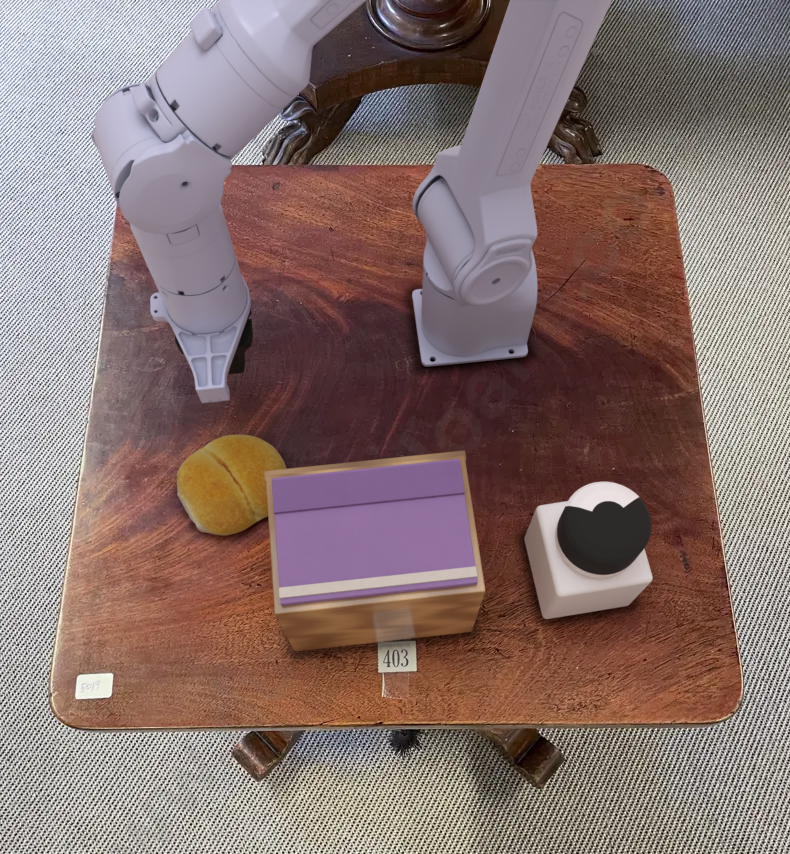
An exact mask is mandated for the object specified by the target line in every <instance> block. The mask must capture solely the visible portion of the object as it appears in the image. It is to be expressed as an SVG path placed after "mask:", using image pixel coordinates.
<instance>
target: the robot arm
mask: <svg viewBox="0 0 790 854" xmlns="http://www.w3.org/2000/svg"><path fill="white" fill-rule="evenodd" d="M366 1H367V0H218V1H217V2H216V3H215V5H214V6H213V7H212V8H211V9H209V8H208V7H205V6H204V7H203V8H202V9H200V11H199V12H198V13H197V14H196V15H195V16H194V18H192V20H191V21H190V22H189V28H190V30H191V31H190V32H189V33H188V35H187V36H186V37H185V38H184V39H183V40H182V41H181V42H180V43H179V44H178V45H177V46H176V48H175V49H174V50H173V51H172V52H171V53H170V54H169V56H168V57H167V58H166V59H165V60H164V61H163V62H162V63H161V64H160V66H158V67H157V69H156V70H155V71H154V72H153V73H152V74H151V76H150V77H148V79H147V80H146V81H145V82H144V81H143V82H137V83H136V82H135V83H130V84H127V85H124V86H122V87H119V88H117V89H116V90H114V91H113V92H111V94H110V95H109V96H107V98H106V99H105V100H104V101H103V103H102V105H101V106H100V107H99V108H98V111H97V113H96V114H95V117H94V120H93V124H94V126H95V127H92V132H91V134H90V138H91V140H92V142H93V144H94V146H95V147H96V149H97V150H98V151H97V152H99V153H98V154H99V157H100V160H101V162H102V165H103V168H104V171H105V173H106V176H107V179H108V182H109V184H110V187H111V190H112V194H113V197H114V200H115V202H116V205H117V206H118V208H119V209H120V212H121V214H122V216H123V218H124V219H125V220H126V221H127V222H128V223H129V227H130V230H131V232H132V235H133V237H134V238H135V241H136V244H137V246H138V249H139V250H140V252H141V255H142V258H143V259H144V262H145V264H146V266H147V268H148V271H149V274H150V275H151V277H152V279H153V281H154V284H155V286H156V289H157V290H158V292H154V293H152V294H151V296H150V299H149V311H150V315H151V317H152V319H153V320H154V321H155V322H159V323H160V322H161V323H162V322H167V323H168V324H169V325H170V328H171V329H172V331H173V333H174V343H175V345H176V346H177V347H176V348H177V349H178V350H179V352H180V354H181V355H184V357H185V359H186V360H187V363H188V365H189V367H190V369H191V372H192V376H193V379H194V387H195V392H196V394H197V396H198V398H199V400H200V402H201V404H207V403H219V402H220V403H221V402H228V401H230V399H231V396H230V388H229V385H228V375H235V374H243V373H244V371H245V367H246V358H245V356H246V355H245V354H246V351H248V350H249V349H250V348H251V347H252V344H253V340H254V339H253V338H254V333H253V332H254V330H253V329H254V327H253V319H252V318H250V317H251V315H252V313H253V312H252V298H251V292H250V290H249V287H248V285H247V282H246V281H245V278H244V276H243V274H242V272H241V268H240V265H239V261H238V257H237V255H236V251H235V247H234V244H233V241H232V237H231V233H230V230H229V226H228V223H227V219H226V216H225V211H224V209H223V205H222V202H221V201H222V199H223V196H224V183H225V180H226V178H228V176H229V175H230V174H231V173H232V169H231V168H232V167H233V163H232V160H233V159H234V158H235V157H236V156H237V155H238V154H239V153H240V152H241V151H242V150H243V149H244V148H245V147H246V146H247V145H249V144H250V143H251V142H252V141H253V139H255V137H257V136H258V135H259V134H260V132H262V131H263V130H264V129H265V128H266V126H268V125H269V124H270V123H271V122H272V121H273V120H274V119H275V118H276V117H277V116H278V115H279V114H280V113H281V112H282V111H283V110H284V109H285V108H286V107H288V105H289V104H291V102H292V101H293V100H294V99H295V98H297V96H298V95H299V94H300V93H301V92H302V91H304V89H305V88H307V86H308V85H309V82H310V79H311V67H312V57H313V49H314V46H315V45H316V44H317V43H319V41H321V40H322V39H323V38H324V37H325V36H326V35H328V34H329V33H330V32H332V31H333V30H334V29H335V28H336V27H337V26H338V25H339V24H341V23H342V22H343V21H344V20H346V19H347V18H348V17H349V16H350V15H351V14H353V12H354V11H356V10H357V9H358V8H359V7H361V6H362V5H363V4H364V3H365V2H366ZM612 1H613V0H509V2H508V5H507V8H506V11H505V14H504V16H503V20H502V22H501V26H500V29H499V32H498V35H497V38H496V41H495V44H494V46H493V50H492V53H491V55H490V59H489V62H488V64H487V68H486V70H485V74H484V76H483V80H482V83H481V86H480V89H479V92H478V94H477V97H476V100H475V102H474V107H473V109H472V113H471V115H470V118H469V121H468V123H467V124H468V125H467V128H466V130H465V133H464V136H463V139H462V142H461V144H457V145H454V146H452V147H448V148H445V149H443V150H441V151H439V152H438V153H437V154H436V158H435V161H434V164H433V166H432V168H431V169H430V171H429V173H428V174H427V176H426V177H425V178H424V180H423V181H422V182H421V183H420V184H419V185H418V187H417V189H416V190H415V193H414V195H413V197H412V204H411V207H412V212H413V215H414V216H415V218H416V219H417V220H418V222H419V223H421V225H422V227H423V230H424V231H425V240H426V243H425V247H424V251H423V260H422V263H423V264H422V285H421V288H417V289H414V290H413V291H412V292H411V293H412V294H411V299H412V306H413V312H414V321H415V327H416V333H417V341H418V347H419V348H418V349H419V354H420V355H419V356H420V363H421V365H422V366H423V367H425V368H429V367H438V366H449V365H458V364H468V363H469V364H470V363H479V362H487V361H489V362H490V361H499V360H509V359H520V358H524V357H526V356H528V352H529V349H528V340H529V337H530V332H531V330H532V329H531V328H532V325H533V321H534V316H535V313H536V309H537V303H538V271H537V265H536V260H535V255H534V251H533V246H534V244H535V241H536V240H537V237H538V225H537V219H536V213H535V212H536V211H535V206H534V201H533V194H532V186H531V183H532V180H533V178H534V176H535V174H536V172H537V170H538V167H539V165H540V162H541V160H542V158H543V156H544V154H545V151H546V149H547V147H548V145H549V143H550V140H551V138H552V135H553V133H554V131H555V129H556V126H557V124H558V122H559V120H560V118H561V116H562V114H563V112H564V109H565V106H566V104H567V102H568V100H569V98H570V95H571V93H572V91H573V88H574V86H575V84H576V83H577V80H578V77H579V75H580V72H581V71H582V69H583V67H584V64H585V62H586V59H587V57H588V55H589V53H590V51H591V49H592V46H593V43H594V41H595V39H596V37H597V35H598V32H599V30H600V28H601V25H602V23H603V21H604V20H605V17H606V14H607V12H608V10H609V8H610V5H611V4H612ZM510 352H512V353H510ZM431 360H434V361H431Z"/></svg>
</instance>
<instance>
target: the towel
mask: <svg viewBox="0 0 790 854" xmlns="http://www.w3.org/2000/svg"><path fill="white" fill-rule="evenodd" d="M272 493H273V509H274V515H275V531H276V546H277V561H278V577H279V598H280V604H281V606H287V605H296V604H305V603H314V602H323V601H333V600H342V599H351V598H360V597H369V596H378V595H387V594H397V593H406V592H415V591H424V590H433V589H442V588H451V587H460V586H470V585H477V583H478V579H477V570H476V566H475V560H474V553H473V547H472V540H471V534H470V527H469V521H468V514H467V508H466V501H465V490H464V484H463V477H462V471H461V464H460V461H459V459H452V460H443V461H433V462H423V463H414V464H404V465H395V466H385V467H375V468H366V469H356V470H347V471H337V472H327V473H318V474H308V475H299V476H289V477H279V478H272Z"/></svg>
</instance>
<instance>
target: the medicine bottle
mask: <svg viewBox="0 0 790 854" xmlns="http://www.w3.org/2000/svg"><path fill="white" fill-rule="evenodd" d="M642 499H643V498H641V497H640V496H639V495H638V494H637V493H636V492H635V491H633V490H632V489H631V488H628V487H626V485H623V484H619V483H617V482H613V481H595V482H591V483H588V484H586V485H583V486H581V487H580V488H578V489H577V490H576V491H574V492H573V494H571V496H570V497H569V499H568V500H566V501H565V500H564V501H560V502H559V501H557V502H553V503H552V502H551V503H547V504H540V505H538V506H536V508H535V510H534V513H533V515H532V518H531V521H530V522H529V525H528V527H527V530H526V533H525V535H524V544H525V548H526V553H527V558H528V562H529V565H530V569H531V574H532V578H533V583H534V587H535V591H536V596H537V599H538V605H539V608H540V613H541V616H542V619H544V620H552V619H556V618H557V619H558V618H563V617H569V616H575V615H581V614H586V613H593V612H598V611H605V610H611V609H612V610H613V609H618V608H623V607H628V606H630V605H631V604H632V603H633V602H634V600H635V599H636V598H637V597H638V596H639V595H640V594H641V593H642V592H643V591H644V590H645V589H646V588H647V587H648V586H649V585H650V584H651V583H652V581H653V578H654V577H653V573H652V569H651V567H650V566H651V565H650V563H649V559H648V556H647V553H646V549H645V548H646V547H647V545H648V544H649V542H650V538H651V535H652V530H653V528H652V527H653V526H652V523H653V522H652V517H651V514H650V510H649V509H648V507H647V505H646V504H645V502H644V500H642Z"/></svg>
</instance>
